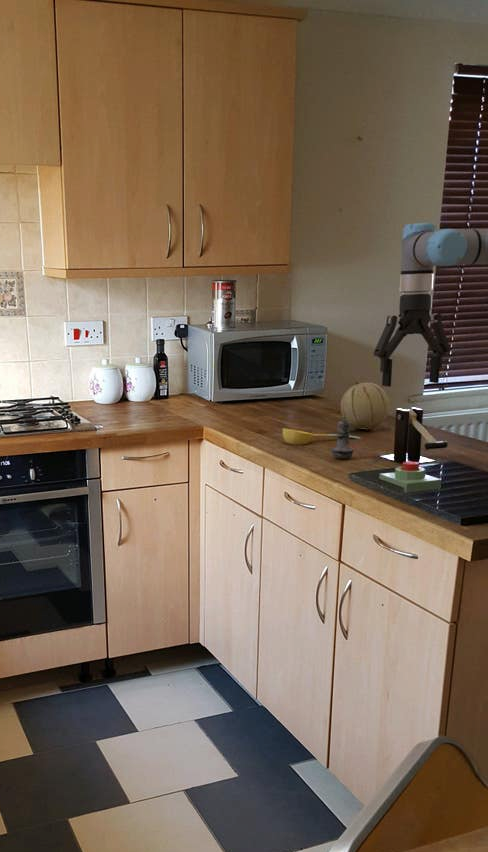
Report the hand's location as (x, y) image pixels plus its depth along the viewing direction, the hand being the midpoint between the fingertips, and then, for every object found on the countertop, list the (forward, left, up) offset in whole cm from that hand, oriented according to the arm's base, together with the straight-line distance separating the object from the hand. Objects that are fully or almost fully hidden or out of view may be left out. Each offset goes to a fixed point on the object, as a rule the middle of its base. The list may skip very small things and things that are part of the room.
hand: (410, 384), depth 214 cm
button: (-19, +12, -17) cm, 28 cm away
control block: (-19, +12, -20) cm, 30 cm away
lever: (-2, -2, -12) cm, 12 cm away
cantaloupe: (+53, -20, -21) cm, 60 cm away
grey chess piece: (+11, +12, -21) cm, 26 cm away
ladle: (+36, +3, -21) cm, 41 cm away
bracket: (+3, -2, -20) cm, 21 cm away
